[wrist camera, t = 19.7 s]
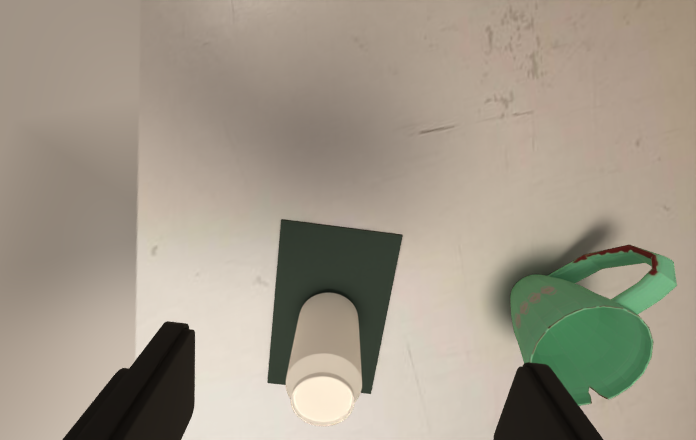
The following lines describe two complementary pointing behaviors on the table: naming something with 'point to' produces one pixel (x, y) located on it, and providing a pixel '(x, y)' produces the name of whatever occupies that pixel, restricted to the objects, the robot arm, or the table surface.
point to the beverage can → (325, 361)
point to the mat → (332, 285)
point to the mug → (590, 322)
